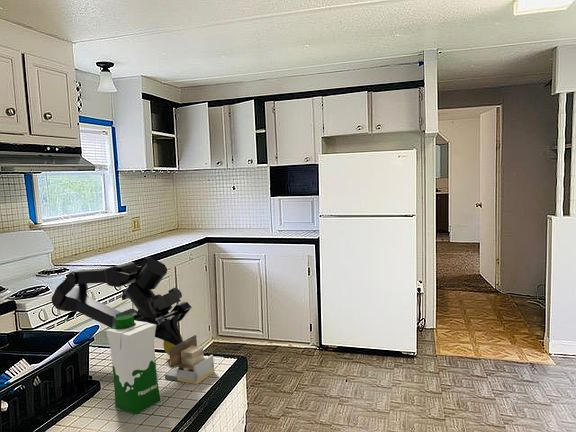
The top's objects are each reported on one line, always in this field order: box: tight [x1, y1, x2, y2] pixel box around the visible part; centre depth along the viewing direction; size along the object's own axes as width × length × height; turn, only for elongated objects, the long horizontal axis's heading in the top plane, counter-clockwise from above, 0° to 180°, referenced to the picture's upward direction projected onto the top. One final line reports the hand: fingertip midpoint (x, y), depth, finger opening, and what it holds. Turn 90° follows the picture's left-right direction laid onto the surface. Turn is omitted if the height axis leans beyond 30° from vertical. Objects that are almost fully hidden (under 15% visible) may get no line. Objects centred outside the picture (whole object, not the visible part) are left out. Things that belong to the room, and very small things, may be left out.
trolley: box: [168, 334, 206, 372], centre depth 115 cm, size 5×10×8 cm, turn 154°
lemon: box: [163, 333, 184, 356], centre depth 128 cm, size 6×6×8 cm
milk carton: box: [105, 314, 162, 416], centre depth 101 cm, size 9×9×20 cm
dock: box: [164, 354, 215, 385], centre depth 115 cm, size 10×7×4 cm
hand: (181, 345), depth 116 cm, fingers closed, pressing on trolley
